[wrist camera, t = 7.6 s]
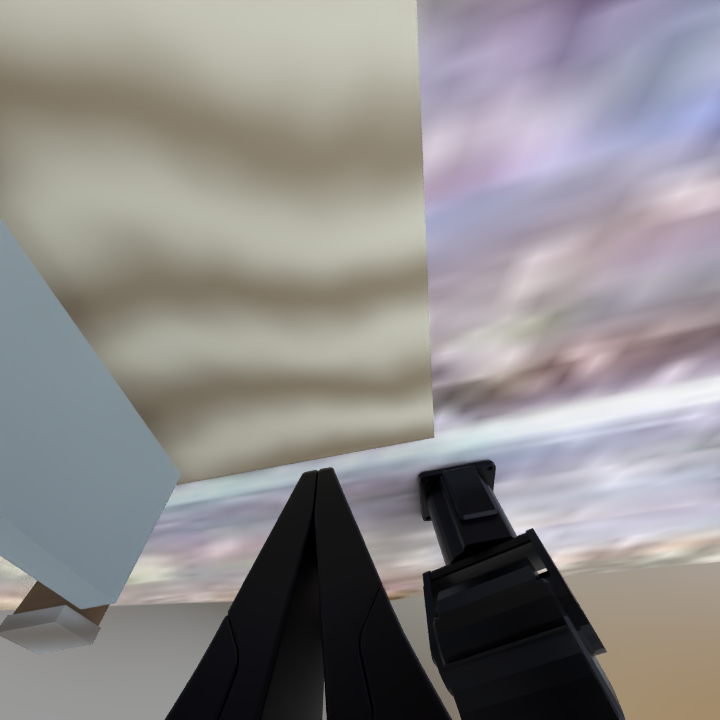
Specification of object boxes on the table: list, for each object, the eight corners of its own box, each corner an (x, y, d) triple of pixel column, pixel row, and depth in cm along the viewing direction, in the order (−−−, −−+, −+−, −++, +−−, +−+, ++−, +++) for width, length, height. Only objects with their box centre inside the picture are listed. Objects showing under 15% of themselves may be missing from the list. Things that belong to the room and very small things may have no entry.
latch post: (177, 479, 22) (92, 644, 14) (141, 486, 22) (37, 654, 14) (159, 455, 20) (55, 621, 13) (122, 462, 20) (-6, 633, 13)
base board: (430, 428, 23) (434, 437, 22) (123, 484, 23) (114, 496, 22) (401, -155, 10) (408, -188, 9) (-324, -23, 10) (-387, -43, 9)
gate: (-122, 127, 10) (-790, 39, 4) (-65, 116, 10) (-643, 14, 4) (154, 479, 20) (76, 610, 13) (184, 473, 20) (119, 602, 13)
